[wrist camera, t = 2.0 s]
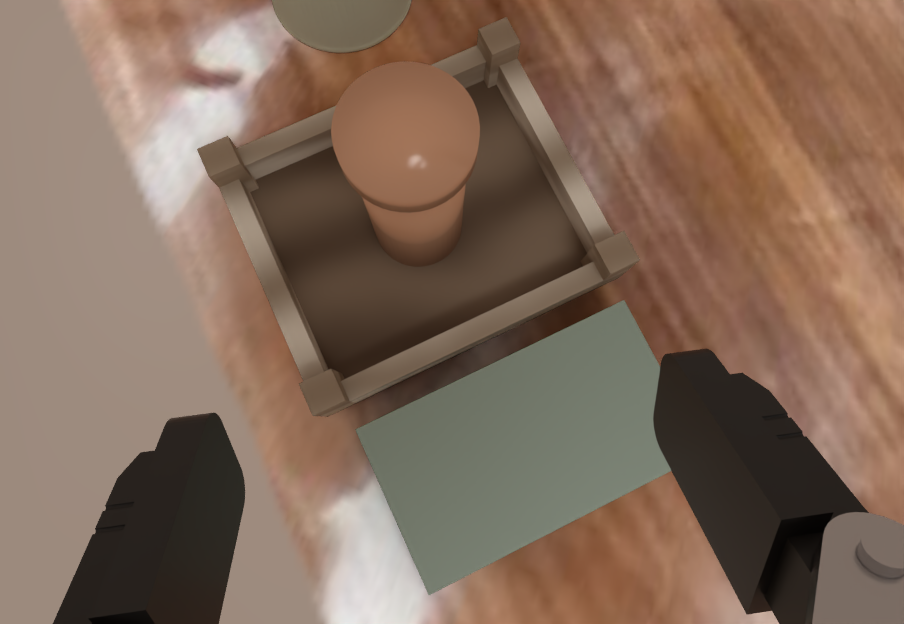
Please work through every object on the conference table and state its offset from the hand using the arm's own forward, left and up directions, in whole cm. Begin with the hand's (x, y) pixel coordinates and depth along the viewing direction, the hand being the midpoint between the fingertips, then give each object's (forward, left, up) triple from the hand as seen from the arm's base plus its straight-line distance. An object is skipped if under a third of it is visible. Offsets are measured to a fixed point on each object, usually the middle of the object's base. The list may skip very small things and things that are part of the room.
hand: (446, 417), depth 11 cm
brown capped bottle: (-10, -7, -23) cm, 26 cm away
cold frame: (-10, -7, -24) cm, 27 cm away
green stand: (-1, +4, -24) cm, 24 cm away
